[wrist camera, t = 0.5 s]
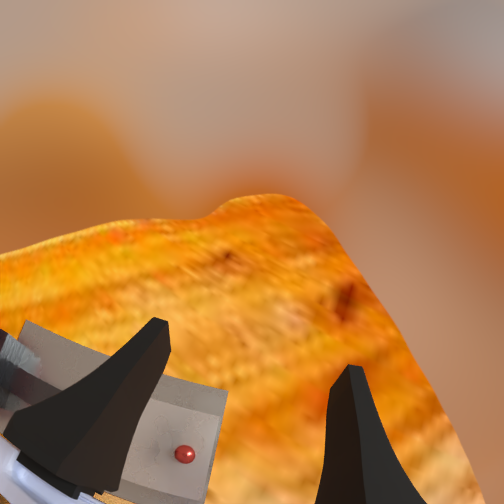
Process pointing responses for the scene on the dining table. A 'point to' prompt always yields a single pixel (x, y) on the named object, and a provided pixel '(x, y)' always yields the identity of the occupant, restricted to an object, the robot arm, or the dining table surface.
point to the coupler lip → (74, 369)
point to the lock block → (171, 449)
